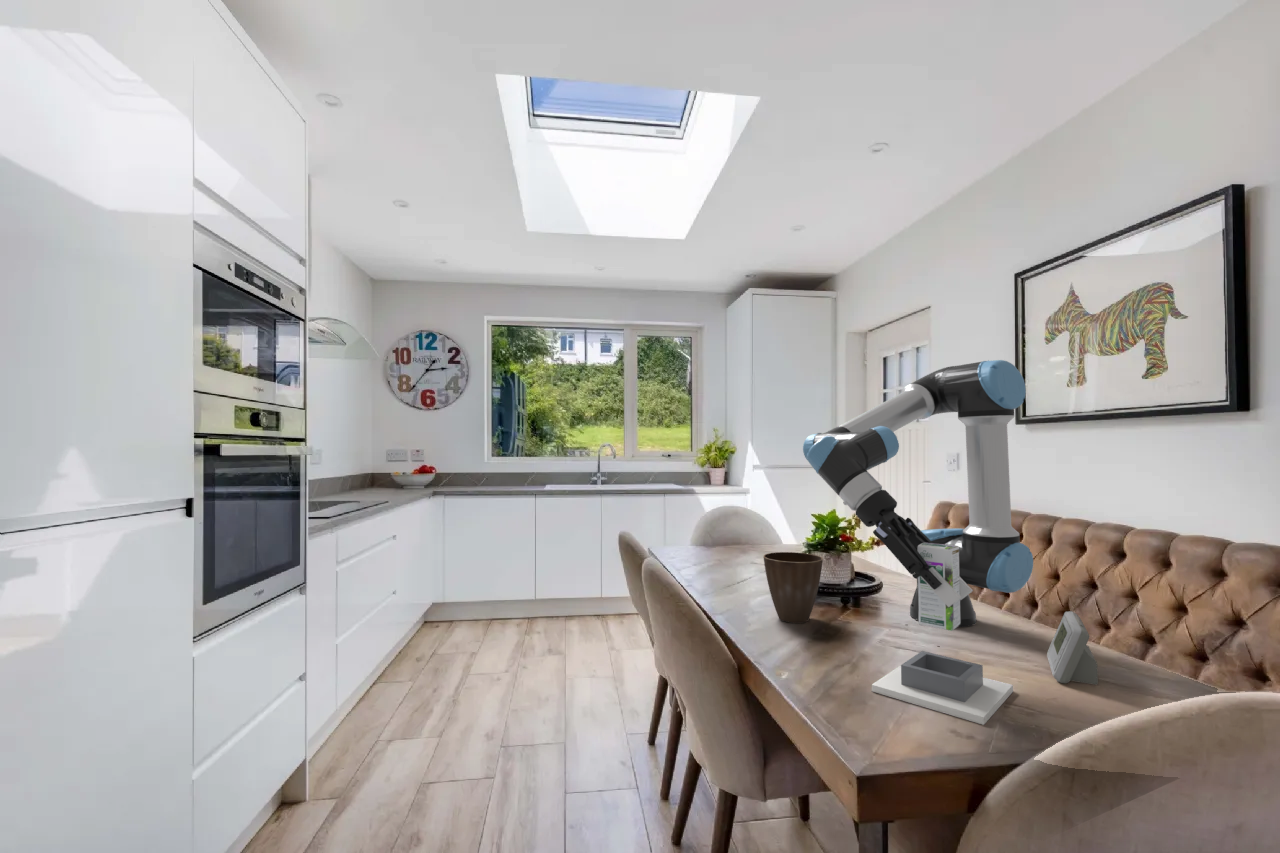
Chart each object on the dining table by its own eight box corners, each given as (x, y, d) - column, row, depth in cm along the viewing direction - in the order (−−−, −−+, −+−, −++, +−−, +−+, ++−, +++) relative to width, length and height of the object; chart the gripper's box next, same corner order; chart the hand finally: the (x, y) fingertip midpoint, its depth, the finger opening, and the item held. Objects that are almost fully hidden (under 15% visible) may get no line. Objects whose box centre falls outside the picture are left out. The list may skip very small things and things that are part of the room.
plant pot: (761, 610, 158) (761, 551, 158) (818, 612, 156) (817, 552, 156) (766, 626, 143) (765, 561, 143) (828, 629, 141) (827, 563, 141)
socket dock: (909, 665, 117) (909, 641, 117) (1013, 691, 104) (1012, 665, 104) (871, 691, 104) (871, 664, 105) (983, 725, 92) (983, 694, 92)
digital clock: (1048, 657, 122) (1047, 606, 122) (1103, 668, 116) (1101, 614, 116) (1035, 679, 110) (1033, 623, 110) (1095, 693, 104) (1093, 633, 104)
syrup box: (917, 625, 105) (916, 544, 105) (928, 618, 109) (926, 540, 110) (952, 632, 101) (950, 548, 101) (961, 624, 105) (959, 544, 106)
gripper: (876, 509, 123) (962, 601, 111) (833, 517, 110) (926, 622, 98) (900, 485, 120) (992, 577, 107) (860, 490, 106) (959, 596, 94)
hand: (960, 598), depth 103 cm, fingers closed on syrup box, 6 cm apart
